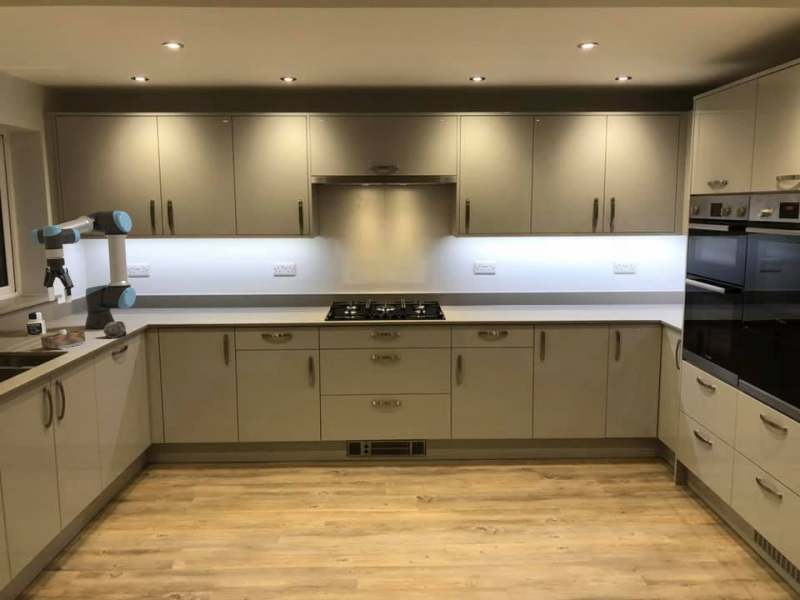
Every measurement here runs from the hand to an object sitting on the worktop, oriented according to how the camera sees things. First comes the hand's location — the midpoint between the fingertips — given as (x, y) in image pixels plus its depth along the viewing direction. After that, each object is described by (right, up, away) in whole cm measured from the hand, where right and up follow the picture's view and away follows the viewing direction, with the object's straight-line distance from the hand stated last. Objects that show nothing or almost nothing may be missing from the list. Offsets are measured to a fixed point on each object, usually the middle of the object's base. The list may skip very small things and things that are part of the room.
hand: (60, 301), depth 295 cm
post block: (+1, -22, +2) cm, 22 cm away
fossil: (+17, -19, +22) cm, 33 cm away
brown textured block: (+1, -21, +2) cm, 21 cm away
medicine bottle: (-30, -18, +31) cm, 47 cm away
